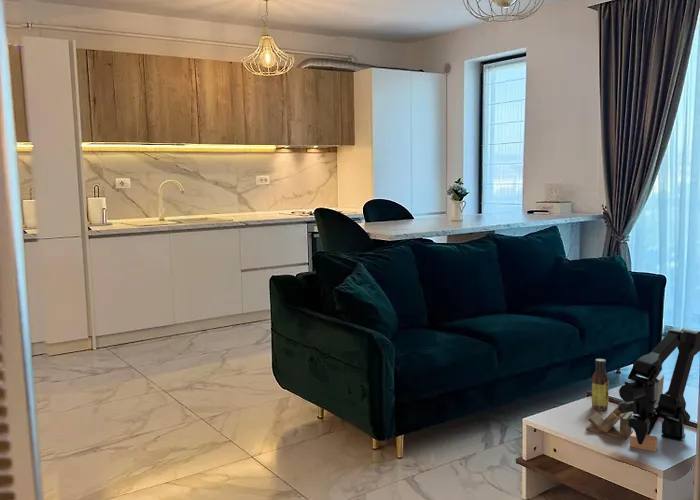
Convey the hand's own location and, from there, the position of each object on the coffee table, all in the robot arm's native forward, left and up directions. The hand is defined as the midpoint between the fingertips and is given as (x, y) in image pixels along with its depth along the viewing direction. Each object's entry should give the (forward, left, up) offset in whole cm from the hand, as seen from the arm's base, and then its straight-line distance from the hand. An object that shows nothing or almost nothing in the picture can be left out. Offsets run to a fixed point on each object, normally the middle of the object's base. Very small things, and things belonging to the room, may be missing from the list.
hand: (643, 439), depth 220 cm
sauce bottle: (+24, -27, -3) cm, 37 cm away
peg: (0, 0, -3) cm, 3 cm away
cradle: (+14, -6, -3) cm, 15 cm away
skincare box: (+6, -32, -3) cm, 33 cm away
